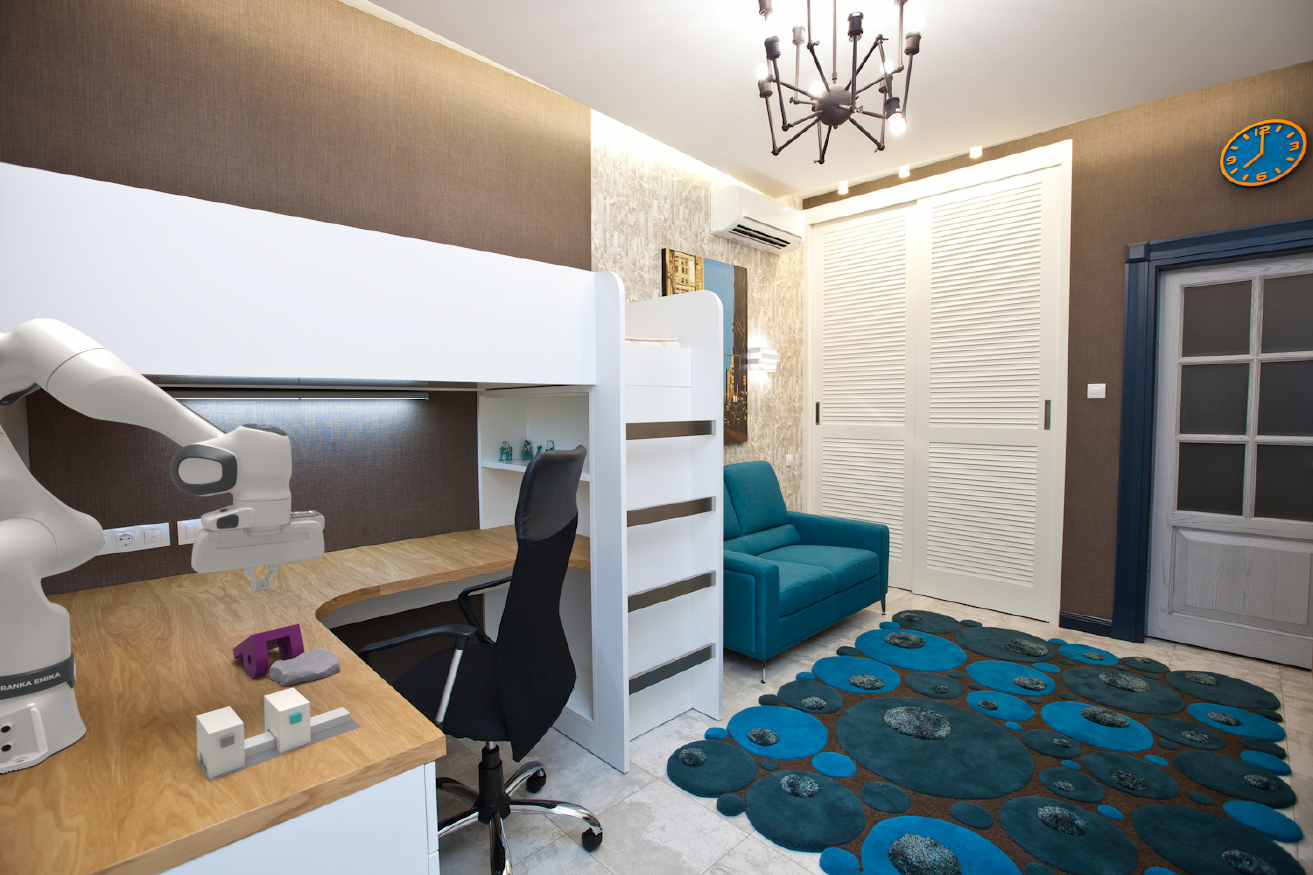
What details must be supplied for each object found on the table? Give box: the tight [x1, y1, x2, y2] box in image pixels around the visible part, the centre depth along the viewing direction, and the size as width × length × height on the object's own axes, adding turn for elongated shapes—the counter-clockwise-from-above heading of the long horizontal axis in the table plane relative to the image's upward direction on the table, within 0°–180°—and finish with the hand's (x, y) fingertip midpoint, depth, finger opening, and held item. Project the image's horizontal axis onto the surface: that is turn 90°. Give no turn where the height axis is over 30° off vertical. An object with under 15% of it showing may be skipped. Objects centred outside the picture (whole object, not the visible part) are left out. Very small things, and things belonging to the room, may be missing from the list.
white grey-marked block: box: [195, 705, 245, 778], centre depth 96 cm, size 4×9×7 cm, turn 47°
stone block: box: [268, 647, 341, 687], centre depth 132 cm, size 12×5×10 cm
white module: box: [263, 687, 311, 753], centre depth 103 cm, size 4×9×7 cm, turn 47°
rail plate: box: [193, 706, 361, 782], centre depth 103 cm, size 22×10×2 cm, turn 137°
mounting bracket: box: [232, 623, 305, 679], centre depth 137 cm, size 9×8×18 cm
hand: (261, 589), depth 110 cm, fingers closed
